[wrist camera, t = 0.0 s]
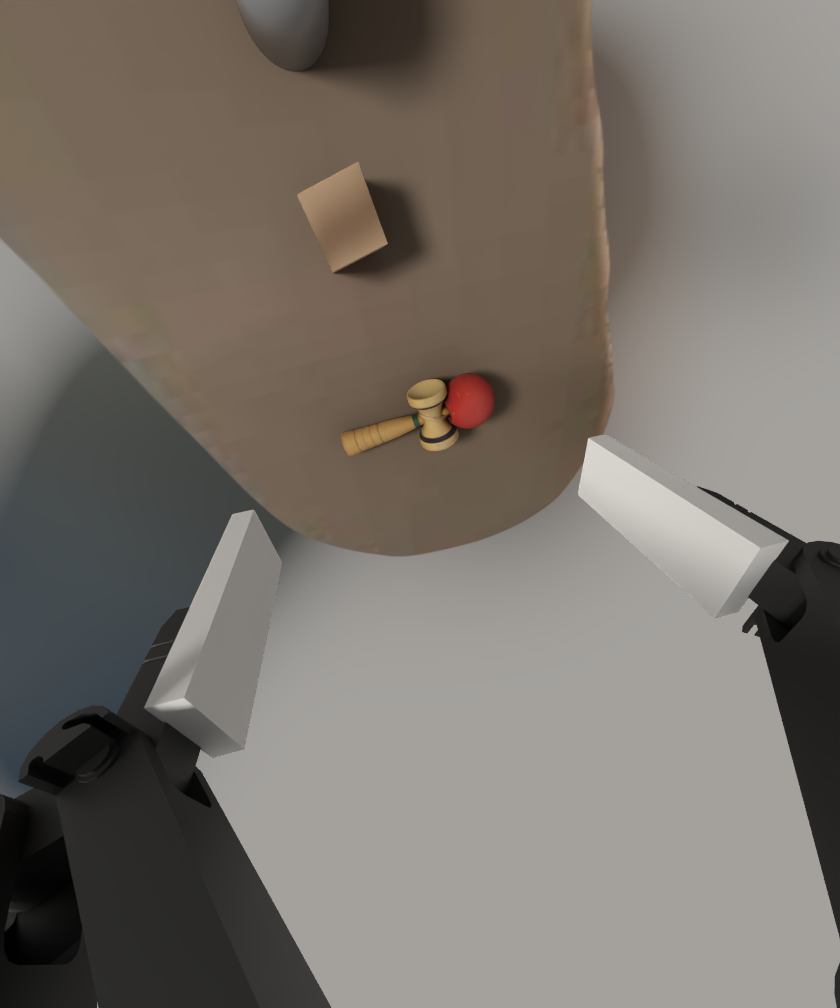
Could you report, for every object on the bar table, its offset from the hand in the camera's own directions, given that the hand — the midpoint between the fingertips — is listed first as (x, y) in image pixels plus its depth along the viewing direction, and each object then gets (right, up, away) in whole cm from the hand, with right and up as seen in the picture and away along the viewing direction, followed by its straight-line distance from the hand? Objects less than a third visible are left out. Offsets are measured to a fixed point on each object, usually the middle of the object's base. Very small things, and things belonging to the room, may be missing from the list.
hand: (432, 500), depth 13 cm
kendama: (-1, +11, +27) cm, 29 cm away
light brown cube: (-7, +24, +16) cm, 30 cm away
